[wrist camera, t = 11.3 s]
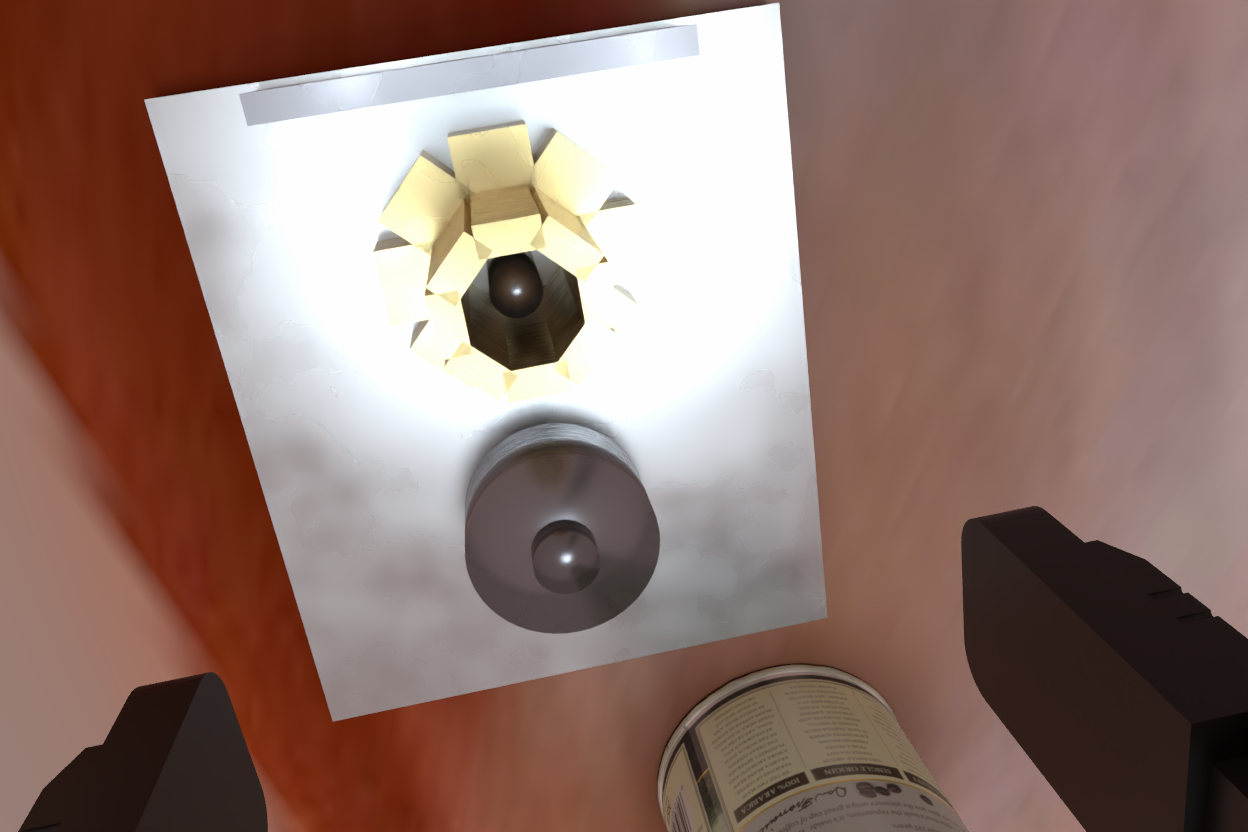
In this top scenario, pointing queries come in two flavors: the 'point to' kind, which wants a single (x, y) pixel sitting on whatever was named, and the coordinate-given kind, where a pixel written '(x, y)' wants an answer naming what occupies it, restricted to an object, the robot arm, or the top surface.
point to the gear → (502, 225)
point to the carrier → (500, 431)
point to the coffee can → (798, 761)
